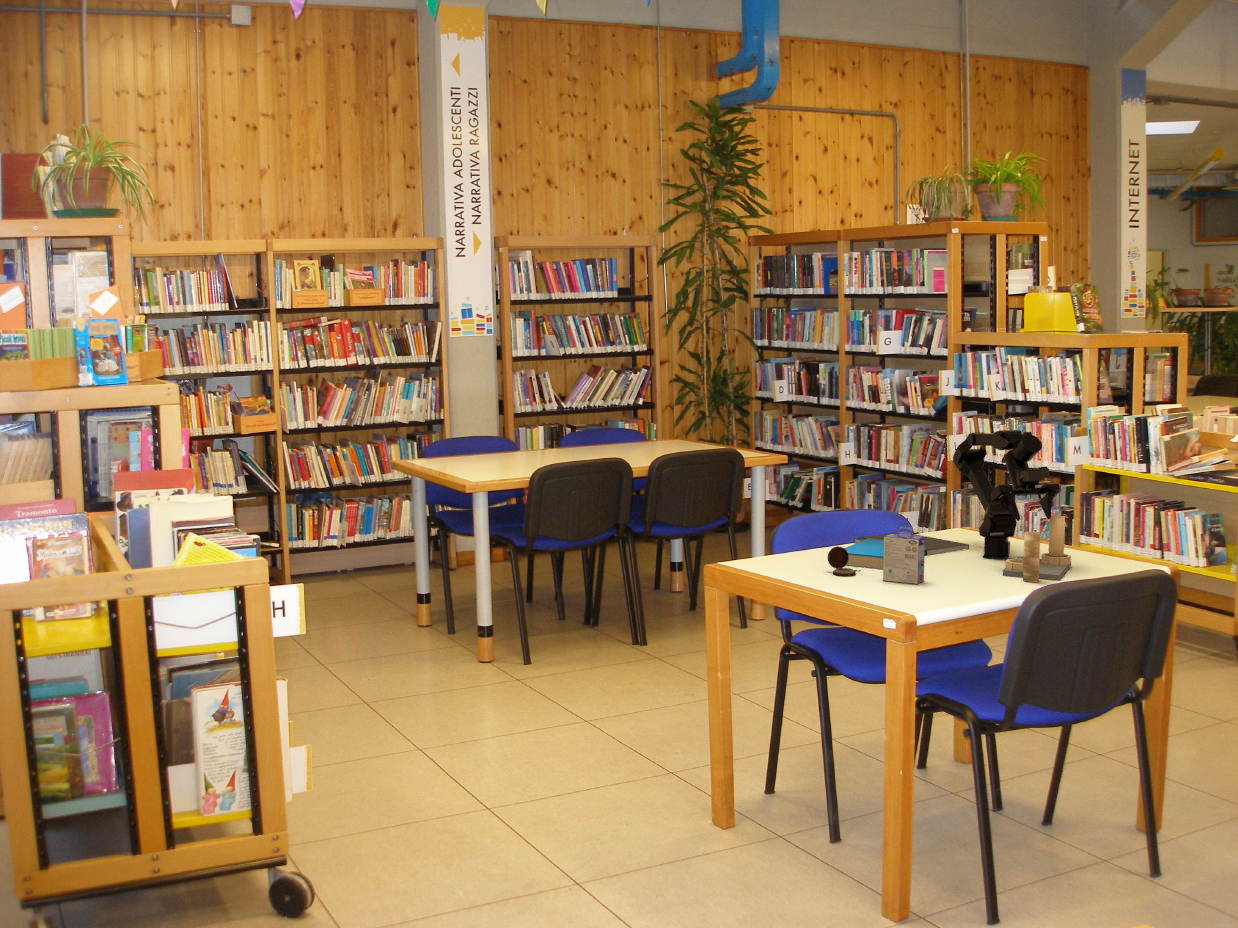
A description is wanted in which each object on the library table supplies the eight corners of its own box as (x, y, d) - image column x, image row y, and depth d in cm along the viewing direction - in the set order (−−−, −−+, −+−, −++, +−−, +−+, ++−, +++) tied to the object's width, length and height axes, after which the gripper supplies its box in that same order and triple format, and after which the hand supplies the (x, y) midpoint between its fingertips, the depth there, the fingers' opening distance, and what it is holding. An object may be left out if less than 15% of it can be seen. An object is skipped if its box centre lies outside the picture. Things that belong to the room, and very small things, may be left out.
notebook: (969, 551, 359) (901, 538, 383) (969, 543, 359) (901, 531, 382) (919, 558, 348) (852, 544, 371) (919, 551, 347) (852, 537, 371)
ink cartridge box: (925, 581, 314) (926, 527, 312) (918, 584, 309) (919, 530, 307) (889, 577, 319) (890, 524, 317) (882, 581, 314) (883, 527, 313)
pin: (1021, 581, 312) (1023, 533, 310) (1024, 578, 315) (1025, 531, 314) (1037, 583, 310) (1038, 534, 308) (1040, 580, 313) (1041, 532, 312)
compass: (839, 577, 319) (839, 551, 319) (826, 572, 327) (826, 546, 326) (866, 575, 321) (866, 549, 321) (852, 570, 329) (853, 544, 328)
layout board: (1002, 575, 320) (1004, 523, 318) (1017, 561, 338) (1019, 512, 337) (1059, 580, 312) (1061, 526, 311) (1071, 566, 331) (1073, 515, 330)
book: (920, 543, 349) (891, 555, 328) (920, 557, 349) (890, 571, 328) (865, 538, 358) (833, 550, 337) (865, 552, 358) (833, 565, 337)
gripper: (1000, 457, 323) (1016, 507, 316) (1062, 455, 327) (1079, 505, 319) (983, 475, 333) (998, 525, 326) (1043, 473, 336) (1059, 523, 329)
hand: (1034, 519), depth 325 cm, fingers open, 9 cm apart
